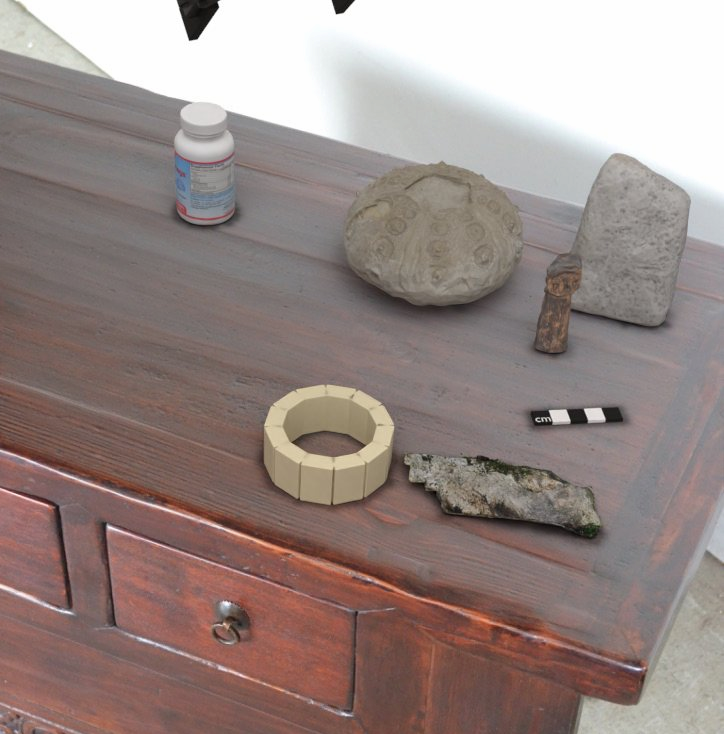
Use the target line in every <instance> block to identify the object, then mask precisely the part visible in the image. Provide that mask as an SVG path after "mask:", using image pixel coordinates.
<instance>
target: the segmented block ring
mask: <svg viewBox="0 0 724 734" xmlns="http://www.w3.org/2000/svg"><path fill="white" fill-rule="evenodd" d="M382 404H383V403H382V402H380V401H379V400H377V399H376V398H374V397H372V396H370V395H368V394H367V393H365V392H363V391H362V390H359V389H357V388H353V387H346V386H340V385H333V384H326V385H325V384H324V383H323V384H318V385H313V386H312V385H311V386H306V387H302V388H296V389H295V390H292V391H290V392H289V393H287V394H286V395H284V396H283V397H281V398H280V399H278V400H277V401H275V402H274V403H273V404H272V405H270V408H269V409H268V410H269V411H268V413H267V416H266V419H265V422H264V425H263V464H264V466H265V468H266V471H267V473H268V475H269V477H270V479H271V481H272V483H274V485H275V486H276V487H278V488H279V489H281V490H283V491H284V492H286V493H287V494H288V495H290V496H292V497H293V498H295V499H296V500H298V499H299V501H302V502H309V503H314V504H320V505H326V506H332V504H333V506H336V505H340V504H344V503H349V502H354V501H360V500H363V498H368V497H369V496H370V495H371V494H372V493H373V492H375V491H376V490H377V489H378V488H380V487H381V486H382V485H384V484H385V482H386V481H387V479H388V476H389V471H390V468H391V463H392V456H393V447H394V446H393V445H394V437H395V423H394V421H393V419H392V418H391V415H390V414H389V412H388V411H387V409H386V407H385V405H382ZM320 432H331V433H338V434H343V435H348V436H350V437H351V438H353V439H355V440H356V441H358V442H359V443H361V444H363V445H364V447H363V448H361V449H360V450H358V451H357V452H355V453H350V454H344V455H339V456H333V457H332V456H327V455H321V454H315V453H309V452H307V451H306V450H304V449H302V448H300V447H299V446H297V445H296V444H294V443H293V442H294V441H296V440H297V439H298V438H300V437H301V436H302V435H308V434H313V433H320Z"/></svg>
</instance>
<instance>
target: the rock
mask: <svg viewBox="0 0 724 734" xmlns="http://www.w3.org/2000/svg"><path fill="white" fill-rule="evenodd" d="M460 455H461V456H462V457H454V456H443V455H439V454H438V455H435V454H428V453H413V452H411V453H409V452H404V459H403V460H404V461H403V464H404V465H407V466H409V474H408V480H407V481H408V482H410V483H423V487H424V490H425V492H435V493H436V498H437V500H438V502H440V503H441V504H440V507H441V508H442V510H443V512H444V513H445V514H449V515H461V516H464V517H465V516H467V517H474V518H475V517H477V518H489V519H503V520H509V521H511V520H512V521H513V520H514V521H523V522H524V521H526V522H531V523H535V524H540V525H548V526H558V527H562V528H563V529H565V530H567V531H568V532H573V533H575V534H577V535H578V536H583V537H584V538H588V539H595V538H596V537H597V536H598V533H597V532H599V530H600V531H601V529H603V528H604V524H603V522H602V519H601V516H600V515H599V513H598V512H597V510H596V509H597V508H596V506H595V502H596V499H595V498H596V497H595V494H594V493H593V491H592V489H593V487H592V486H591V485H588V487H587V486H584V487H583V486H578V485H576V484H575V485H574V484H573V483H571V482H568V481H567V480H564V479H562V478H561V477H559V476H558V475H557V474H556V473H554V472H553V470H550V469H544V468H543V469H541V468H535V467H531V466H528V465H525V463H524V465H512V464H511V463H506V462H504V461H503V460H502V459H501V458H500V459H499V458H498V457H497V458H496V459H494V458H491V457H488V456H484V455H479V454H477V455H476V456H475V457H473V456H470V454H469V455H468V456H465V455H463V453H461V452H460ZM590 488H591V489H590ZM599 528H601V529H599ZM598 529H599V530H598Z"/></svg>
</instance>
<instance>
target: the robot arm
mask: <svg viewBox="0 0 724 734" xmlns="http://www.w3.org/2000/svg"><path fill="white" fill-rule="evenodd" d="M220 1H221V0H176V3H177V6H178V10H179V14H180V17H181V19H182V23H183V26H184V29H185V33H186V36H187V38H188V42H192V41H198V39H199V38H200V37H201V35H202V34H203V33H204V31H205V29H206V28H207V27H208V25H209V23H210V22H211V20H212V19H213V18H214V16H215V15H216V13H217V12H218V10H219V9H220V4H219V2H220ZM355 1H356V0H331V3H332V6H333V10H334V13H335V15H342V14H345V13H346V11H347V10H348V9H349V8H350V7H351V6H352V5H353V3H355Z"/></svg>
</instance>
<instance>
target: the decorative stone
mask: <svg viewBox="0 0 724 734" xmlns="http://www.w3.org/2000/svg"><path fill="white" fill-rule="evenodd" d="M691 203H692V200H691V197H690V195H689V193H688V192H687V191H686V190H685V189H684V188H683V187H681V186H680V185H679V184H676V183H675V182H673V181H672V180H670V179H669V178H667V177H666V176H664V175H662V174H659V173H657V172H656V171H654V170H653V169H652V168H650V167H648V166H647V165H646V164H644V163H642V162H641V161H639V160H638V159H637V158H635V157H633V156H631V155H628V154H625V153H620V152H614V153H612V154H610V156H609V157H608V159H607V160H605V162H604V163H603V165H602V166H601V168H600V169H599V170H598V173H597V176H596V178H595V180H594V181H593V183H592V185H591V187H590V191H589V193H588V196H587V199H586V203H585V206H584V209H583V213H582V215H581V218H580V222H579V225H578V229H577V232H576V235H575V238H574V240H573V244H572V246H571V249H570V252H569V253H572V254H574V253H578V254H579V255H580V256H581V258H582V279H581V282H580V287H579V289H578V290H576V291H575V293H574V294H572V297H571V310H575V311H578V312H582V313H586V314H591V315H596V316H601V317H606V318H609V319H613V320H616V321H617V320H618V321H620V322H621V321H622V322H627V323H633V324H636V325H641V326H645V327H658V326H660V325H661V324H662V323H664V322H665V321H666V318H667V314H668V312H669V309H670V308H671V305H672V303H673V300H674V297H675V292H676V288H677V287H676V286H677V282H678V281H677V280H678V276H679V275H678V274H679V269H680V264H681V260H682V257H683V254H684V250H685V247H686V242H687V238H688V237H687V236H688V229H689V228H688V227H689V217H690V209H691Z"/></svg>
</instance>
